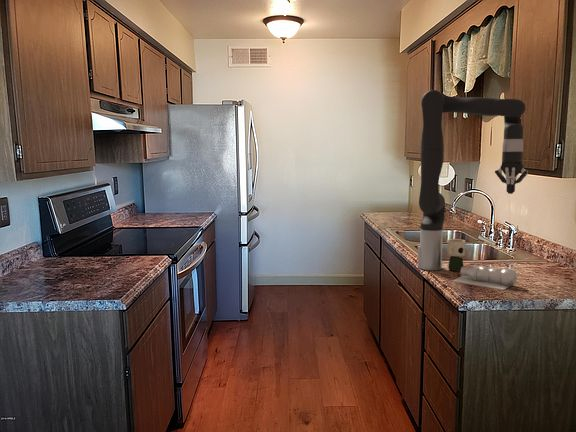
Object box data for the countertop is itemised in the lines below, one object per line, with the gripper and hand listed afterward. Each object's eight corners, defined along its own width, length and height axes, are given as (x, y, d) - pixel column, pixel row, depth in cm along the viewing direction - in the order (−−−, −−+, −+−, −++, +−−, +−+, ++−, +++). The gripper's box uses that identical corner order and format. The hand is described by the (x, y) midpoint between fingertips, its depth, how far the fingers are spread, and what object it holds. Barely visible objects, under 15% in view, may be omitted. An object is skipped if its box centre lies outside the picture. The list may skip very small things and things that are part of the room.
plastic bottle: (512, 286, 173) (458, 277, 186) (517, 287, 178) (463, 279, 191) (515, 268, 174) (460, 261, 186) (519, 270, 179) (465, 263, 192)
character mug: (457, 274, 197) (458, 243, 195) (441, 271, 202) (442, 241, 200) (469, 269, 204) (470, 239, 202) (454, 266, 209) (455, 237, 208)
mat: (452, 281, 186) (452, 280, 186) (462, 276, 193) (462, 275, 193) (503, 290, 173) (504, 289, 173) (512, 284, 181) (512, 283, 181)
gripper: (492, 150, 193) (490, 193, 195) (527, 150, 184) (525, 195, 187) (498, 150, 199) (496, 192, 201) (533, 150, 190) (530, 193, 192)
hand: (510, 193), depth 194 cm, fingers closed
